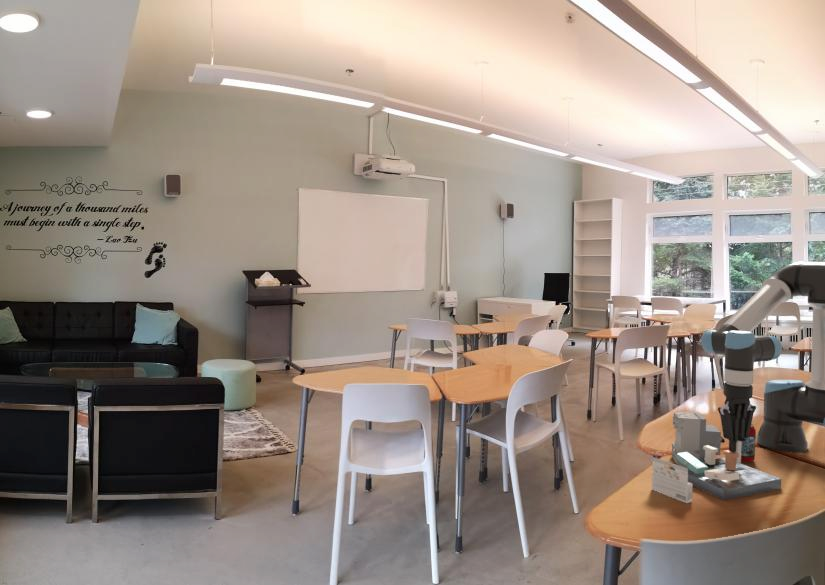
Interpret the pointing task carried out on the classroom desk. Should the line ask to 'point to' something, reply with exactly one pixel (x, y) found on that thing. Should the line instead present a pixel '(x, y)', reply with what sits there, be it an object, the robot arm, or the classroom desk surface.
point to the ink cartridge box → (671, 481)
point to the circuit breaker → (694, 435)
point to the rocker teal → (691, 462)
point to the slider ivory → (710, 454)
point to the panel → (734, 481)
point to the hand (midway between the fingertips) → (735, 461)
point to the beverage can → (749, 446)
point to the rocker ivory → (722, 475)
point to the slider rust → (730, 459)
